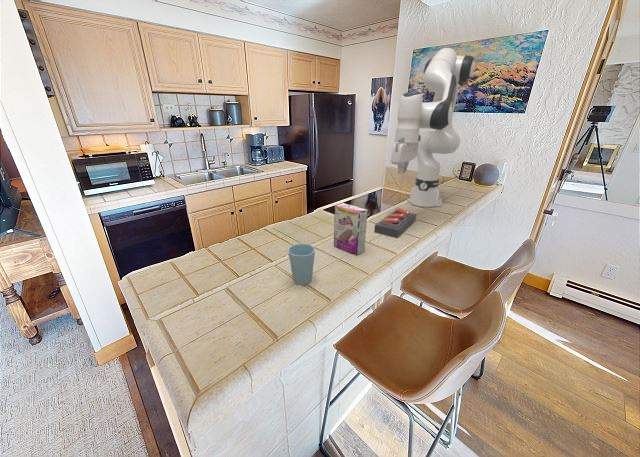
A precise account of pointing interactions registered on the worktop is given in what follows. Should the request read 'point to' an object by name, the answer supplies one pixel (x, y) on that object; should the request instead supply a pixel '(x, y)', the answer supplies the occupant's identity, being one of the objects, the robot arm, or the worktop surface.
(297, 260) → the cup
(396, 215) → the rocker
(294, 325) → the worktop surface
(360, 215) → the candy bar box
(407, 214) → the rocker
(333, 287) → the worktop surface
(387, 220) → the rocker
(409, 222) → the rocker switch panel
